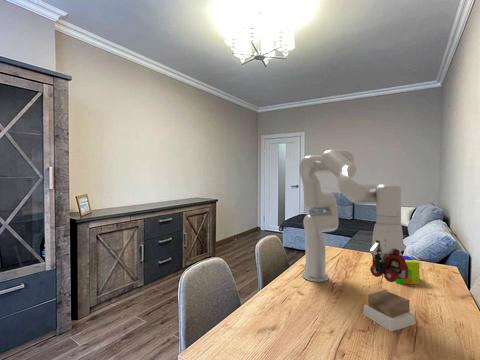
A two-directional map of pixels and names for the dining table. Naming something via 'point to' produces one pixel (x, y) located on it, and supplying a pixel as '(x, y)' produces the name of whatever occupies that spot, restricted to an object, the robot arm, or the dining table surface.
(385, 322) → the grey block
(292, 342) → the dining table surface
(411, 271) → the puzzle toy
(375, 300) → the walnut block
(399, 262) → the toy fire truck
